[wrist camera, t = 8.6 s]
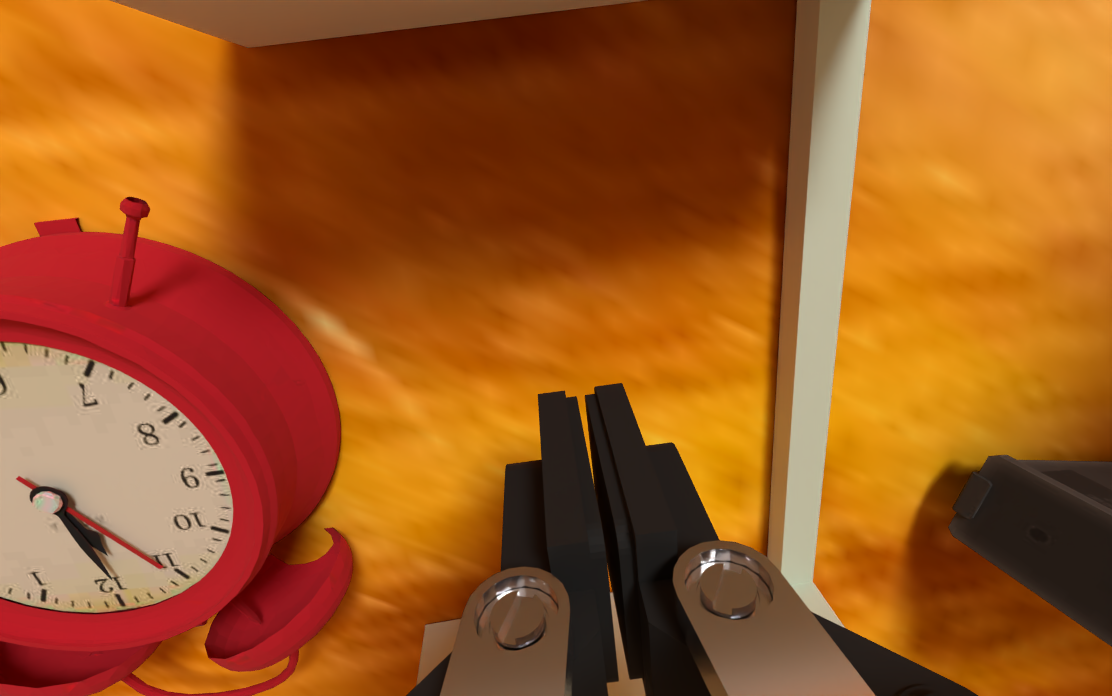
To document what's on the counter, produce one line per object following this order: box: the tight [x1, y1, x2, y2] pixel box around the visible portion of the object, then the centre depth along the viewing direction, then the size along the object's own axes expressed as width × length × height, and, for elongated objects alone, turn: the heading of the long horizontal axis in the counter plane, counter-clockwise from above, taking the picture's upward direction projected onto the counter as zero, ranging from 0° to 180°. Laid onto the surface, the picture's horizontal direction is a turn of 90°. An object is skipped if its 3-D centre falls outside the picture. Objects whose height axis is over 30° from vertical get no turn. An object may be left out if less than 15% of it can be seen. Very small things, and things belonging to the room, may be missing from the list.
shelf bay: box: [110, 0, 871, 696], centre depth 12 cm, size 21×14×7 cm
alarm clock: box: [0, 197, 353, 696], centre depth 13 cm, size 10×6×15 cm
